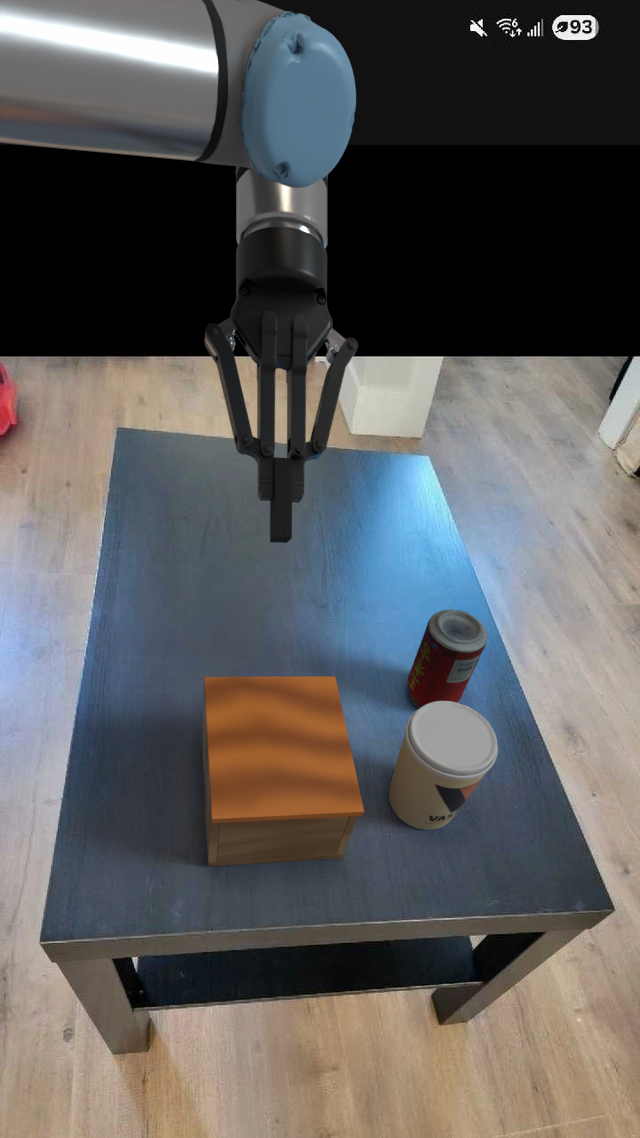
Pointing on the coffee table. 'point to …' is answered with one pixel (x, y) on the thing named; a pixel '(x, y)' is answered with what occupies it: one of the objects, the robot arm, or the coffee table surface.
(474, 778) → the coffee cup
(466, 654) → the soda can
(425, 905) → the coffee table surface
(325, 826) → the chest
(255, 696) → the lid
